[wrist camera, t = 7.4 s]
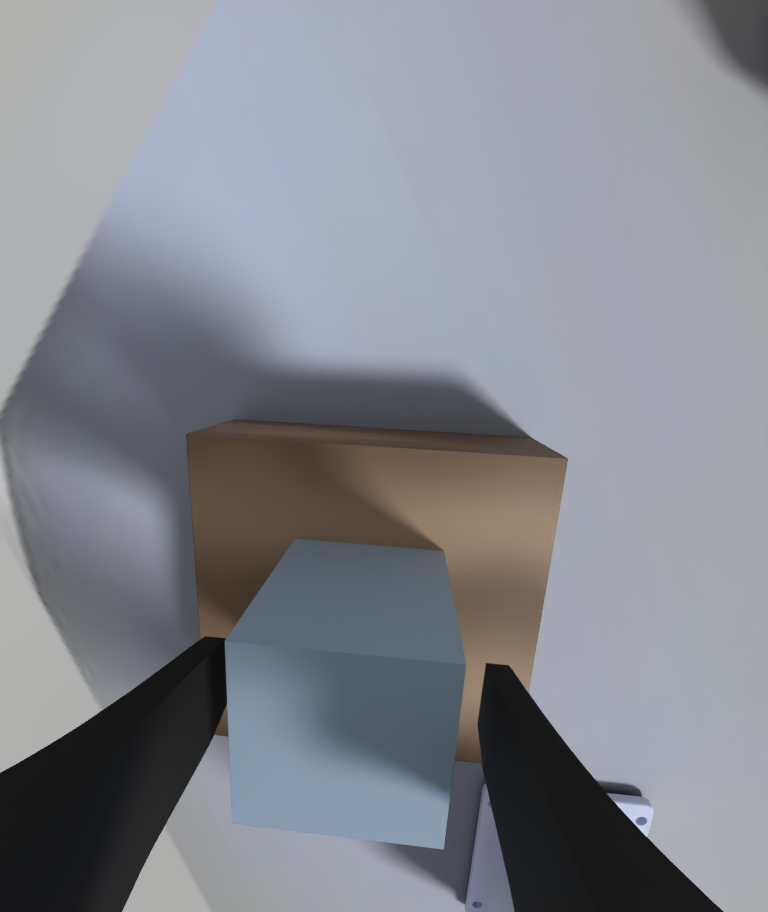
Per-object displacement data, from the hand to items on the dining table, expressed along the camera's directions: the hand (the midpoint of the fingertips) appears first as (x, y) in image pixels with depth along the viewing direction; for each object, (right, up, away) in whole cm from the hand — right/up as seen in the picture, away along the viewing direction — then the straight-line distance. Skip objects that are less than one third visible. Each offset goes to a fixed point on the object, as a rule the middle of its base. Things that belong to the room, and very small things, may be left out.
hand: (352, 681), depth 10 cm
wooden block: (0, +2, +7) cm, 7 cm away
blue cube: (0, +1, +3) cm, 3 cm away
